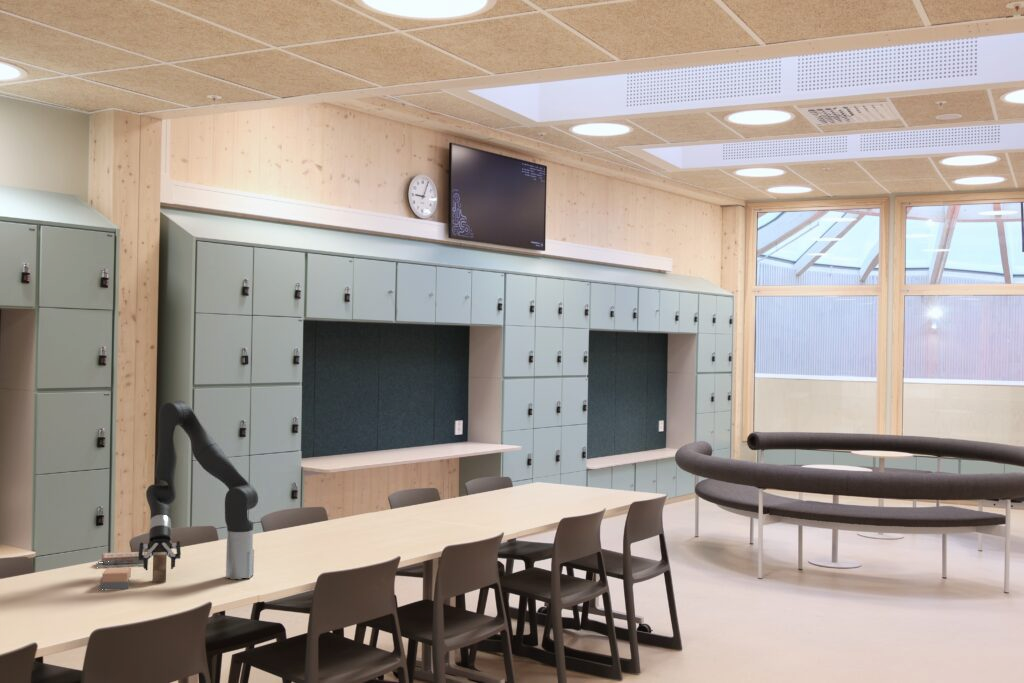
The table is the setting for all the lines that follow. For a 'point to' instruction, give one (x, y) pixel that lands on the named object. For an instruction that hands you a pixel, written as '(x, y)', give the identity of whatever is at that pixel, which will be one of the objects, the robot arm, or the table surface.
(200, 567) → the table surface
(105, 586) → the lower slab
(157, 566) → the brown block
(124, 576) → the upper slab
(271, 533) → the table surface
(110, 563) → the packaged product
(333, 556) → the table surface
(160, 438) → the robot arm
